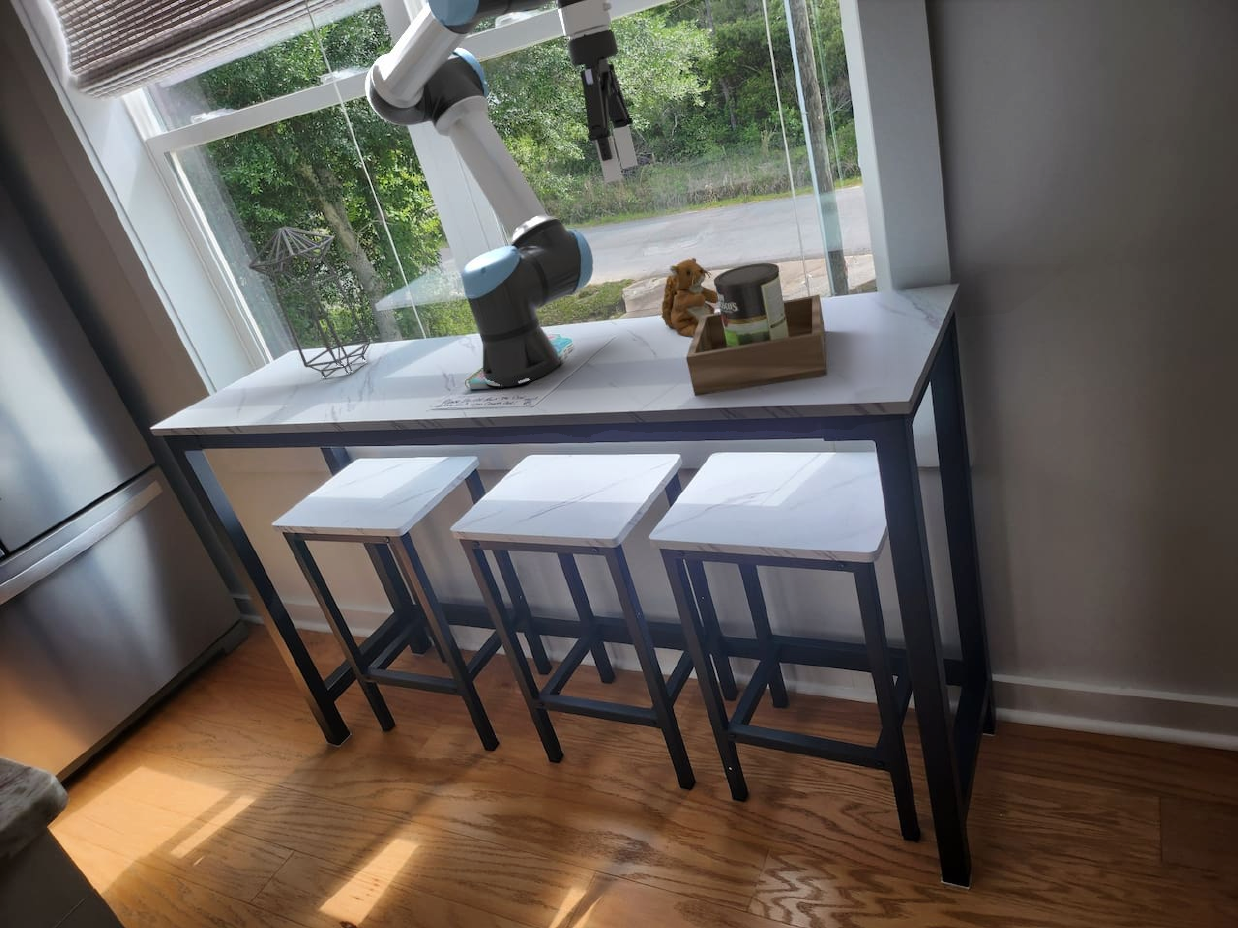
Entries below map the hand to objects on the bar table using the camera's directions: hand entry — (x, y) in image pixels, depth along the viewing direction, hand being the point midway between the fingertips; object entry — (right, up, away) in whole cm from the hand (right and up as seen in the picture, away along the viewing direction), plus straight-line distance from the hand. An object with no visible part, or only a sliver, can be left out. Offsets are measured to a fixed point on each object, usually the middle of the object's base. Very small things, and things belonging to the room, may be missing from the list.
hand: (622, 174), depth 141 cm
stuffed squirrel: (+14, -21, +28) cm, 37 cm away
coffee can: (+23, -30, -1) cm, 38 cm away
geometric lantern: (-67, -26, +64) cm, 96 cm away
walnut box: (+23, -31, 0) cm, 39 cm away
